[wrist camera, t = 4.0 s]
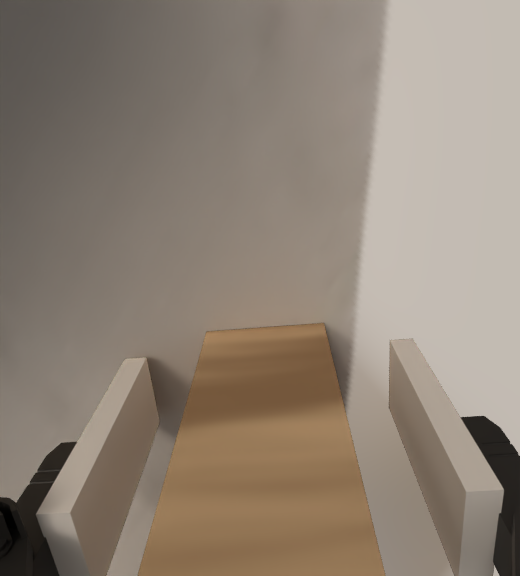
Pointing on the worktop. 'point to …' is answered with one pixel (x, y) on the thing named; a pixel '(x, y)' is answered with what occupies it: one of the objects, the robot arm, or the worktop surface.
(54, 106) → the worktop surface
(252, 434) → the crook tool
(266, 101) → the worktop surface
